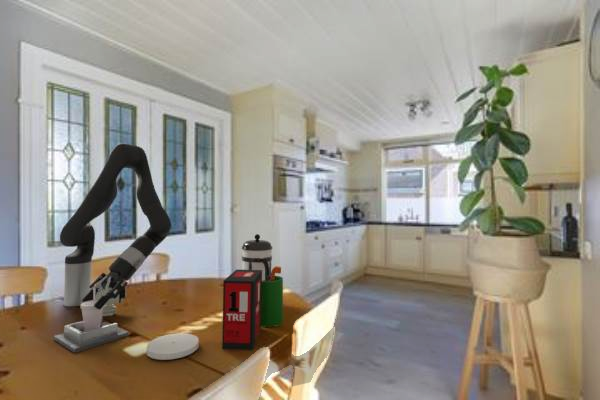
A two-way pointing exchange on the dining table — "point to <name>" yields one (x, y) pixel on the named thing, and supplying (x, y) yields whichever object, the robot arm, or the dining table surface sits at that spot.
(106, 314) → the pneumatic valve
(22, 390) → the dining table surface
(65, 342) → the mount plate
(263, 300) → the green cylindrical container
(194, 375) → the dining table surface
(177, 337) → the plastic lid
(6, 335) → the dining table surface
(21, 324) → the dining table surface
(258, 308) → the cleaning product box
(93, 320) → the smoothie
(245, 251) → the coffee press
